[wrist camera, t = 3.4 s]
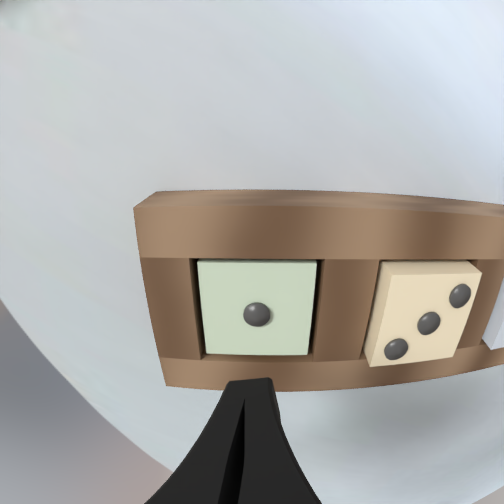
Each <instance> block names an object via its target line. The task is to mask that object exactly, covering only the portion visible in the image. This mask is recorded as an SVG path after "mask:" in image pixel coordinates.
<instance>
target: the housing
mask: <svg viewBox="0 0 504 504" xmlns="http://www.w3.org/2000/svg"><path fill="white" fill-rule="evenodd" d="M133 210H134V219H135V227H136V234H137V242H138V249H139V256H140V262H141V268H142V274H143V280H144V286H145V292H146V297H147V303H148V308H149V313H150V318H151V323H152V328H153V332H154V337H155V342H156V346H157V350H158V355H159V359H160V363H161V367H162V371H163V375H164V379H165V383H166V386H172V387H182V388H194V389H208V390H224V389H225V387H226V385H227V383H228V382H229V381H234V380H246V379H256V378H265V377H269V378H271V379H272V380H273V385H274V389H275V392H293V391H323V390H341V389H354V388H366V387H376V386H386V385H394V384H402V383H409V382H416V381H423V380H429V379H435V378H441V377H447V376H452V375H457V374H462V373H467V372H472V371H476V370H481V369H485V368H489V367H493V366H497V365H501V364H504V347H502V348H497V349H493V350H490V348H489V347H488V346H487V344H486V343H485V342H484V340H483V339H482V337H483V334H484V332H485V329H486V327H487V324H488V322H489V319H490V316H491V314H492V311H493V308H494V305H495V303H496V300H497V297H498V294H499V291H500V288H501V284H502V281H503V278H504V205H500V204H492V203H483V202H475V201H465V200H456V199H445V198H434V197H423V196H410V195H396V194H380V193H362V192H340V191H310V190H192V191H162V192H155V193H154V194H152V195H151V196H149V197H148V198H146V199H145V200H143V201H142V202H141V203H139V204H138V205H136V206H135V207H134V208H133ZM199 258H235V259H315V260H316V263H317V266H316V278H315V289H314V299H313V309H312V319H311V328H310V336H309V345H308V353H307V355H235V354H210V353H206V344H205V335H204V326H203V317H202V308H201V297H200V287H199V276H198V264H197V262H198V260H199ZM380 259H466V260H467V261H469V262H470V263H471V264H472V265H473V266H474V267H476V268H477V269H478V270H479V271H480V272H481V273H482V275H481V279H480V282H479V285H478V289H477V292H476V295H475V298H474V301H473V304H472V307H471V310H470V313H469V316H468V319H467V322H466V324H465V327H464V330H463V332H462V335H461V338H460V340H459V343H458V345H457V348H456V350H455V352H454V355H453V357H449V358H442V359H436V360H429V361H421V362H413V363H405V364H396V365H386V366H375V367H370V366H369V363H368V361H367V358H366V355H365V352H364V350H363V347H362V345H363V341H364V337H365V333H366V328H367V324H368V319H369V314H370V309H371V304H372V299H373V294H374V289H375V283H376V278H377V272H378V266H379V260H380Z"/></svg>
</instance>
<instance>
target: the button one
mask: <svg viewBox="0 0 504 504" xmlns="http://www.w3.org/2000/svg"><path fill="white" fill-rule="evenodd" d="M197 264H198V276H199V287H200V297H201V308H202V317H203V326H204V335H205V344H206V353H210V354H235V355H307V353H308V345H309V336H310V328H311V319H312V309H313V299H314V289H315V278H316V266H317V263H316V260H315V259H235V258H199V260H198V262H197Z"/></svg>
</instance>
